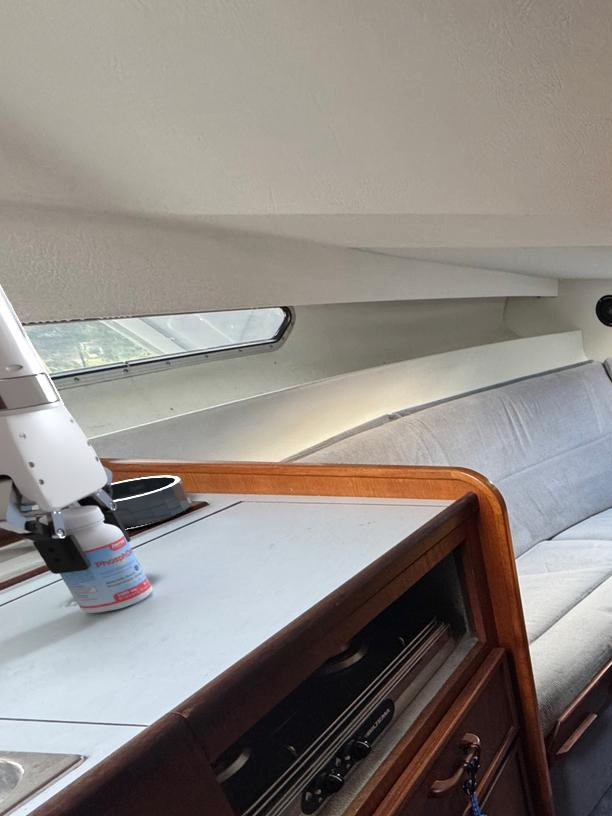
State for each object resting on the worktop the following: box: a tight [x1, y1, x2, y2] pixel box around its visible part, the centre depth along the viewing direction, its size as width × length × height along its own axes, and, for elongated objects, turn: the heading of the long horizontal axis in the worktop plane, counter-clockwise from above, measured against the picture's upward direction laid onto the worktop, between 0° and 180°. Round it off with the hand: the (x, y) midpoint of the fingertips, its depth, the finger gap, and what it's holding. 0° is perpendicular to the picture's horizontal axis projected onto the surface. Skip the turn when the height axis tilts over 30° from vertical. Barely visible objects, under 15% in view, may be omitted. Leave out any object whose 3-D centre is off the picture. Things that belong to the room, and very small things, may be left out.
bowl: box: [67, 475, 193, 529], centre depth 90 cm, size 13×13×5 cm
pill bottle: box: [38, 506, 153, 614], centre depth 64 cm, size 6×6×11 cm
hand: (93, 555), depth 63 cm, fingers closed on pill bottle, 6 cm apart
